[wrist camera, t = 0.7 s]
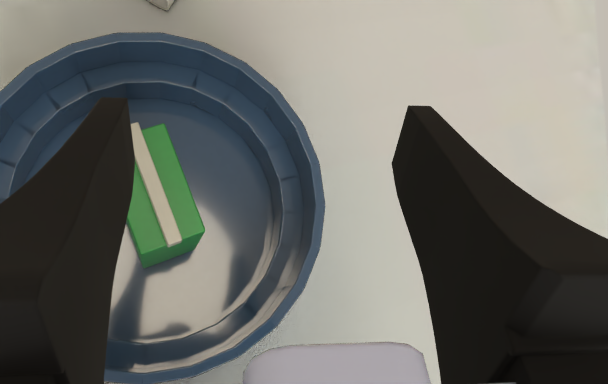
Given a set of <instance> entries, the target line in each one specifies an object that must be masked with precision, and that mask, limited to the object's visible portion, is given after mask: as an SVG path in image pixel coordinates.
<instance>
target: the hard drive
mask: <svg viewBox="0 0 608 384" xmlns="http://www.w3.org/2000/svg"><path fill="white" fill-rule="evenodd" d="M147 1H149V2H151V3H152V4H154V5H156V6H157V7H159V8H161V9H164V10H168V9H169V8H170V6H171V5H172V4H173V2H174V1H175V0H147Z"/></svg>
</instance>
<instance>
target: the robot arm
mask: <svg viewBox="0 0 608 384" xmlns="http://www.w3.org/2000/svg"><path fill="white" fill-rule="evenodd" d="M392 168H393V174H394V180H395V186H396V191H397V196H398V199H399V202H400V206H401V209H402V212H403V215H404V218H405V221H406V224H407V227H408V230H409V233H410V236H411V239H412V242H413V245H414V248H415V251H416V254H417V257H418V260H419V264H420V267H421V271H422V274H423V279H424V284H425V288H426V293H427V298H428V303H429V308H430V314H431V319H432V325H433V330H434V336H435V343H436V349H437V356H438V362H439V369H440V377H441V384H608V239H606V238H604V237H602V236H600V235H598V234H596V233H594V232H592V231H590V230H588V229H586V228H584V227H582V226H580V225H578V224H577V223H575V222H573V221H571V220H569V219H567V218H566V217H564V216H562V215H561V214H559V213H557V212H556V211H554V210H552V209H551V208H549V207H547V206H546V205H544V204H543V203H541V202H540V201H538V200H537V199H535V198H534V197H532V196H531V195H529V194H528V193H527V192H525V191H524V190H522V189H521V188H520V187H518V186H517V185H515V184H514V183H513V182H512V181H510V180H509V179H508V178H507V177H505V176H504V175H503V174H502V173H501V172H499V171H498V170H497V169H496V168H495V167H493V166H492V165H491V164H490V163H489V162H488V161H487V160H485V159H484V158H483V157H482V156H481V155H480V154H479V153H478V152H477V151H476V150H475V149H474V148H473V147H471V146H470V145H469V144H468V143H467V142H466V141H465V140H464V139H463V138H462V137H461V136H460V135H459V134H458V133H457V132H456V131H455V130H454V129H453V128H452V127H451V126H450V125H449V124H448V123H447V122H446V121H445V120H444V119H443V118H442V117H441V116H440V115H439V114H438V113H437V112H436V111H435V110H434V109H433V108H432V107H431V106H408V108H407V112H406V115H405V119H404V122H403V126H402V130H401V133H400V137H399V140H398V144H397V147H396V151H395V154H394V158H393V161H392ZM134 170H135V154H134V146H133V139H132V131H131V123H130V115H129V107H128V100H127V98H111V97H101V98H100V99H99V100H98V101H97V102H96V104H95V105H94V107H93V108H92V109H91V111H90V112H89V113H88V115H87V116H86V117H85V119H84V120H83V121H82V123H81V124H80V125H79V126H78V128H77V129H76V130H75V132H74V133H73V134H72V135H71V136H70V137H69V139H68V140H67V141H66V142H65V143H64V144H63V146H62V147H61V148H60V149H59V150H58V151H57V152H56V153H55V155H54V156H53V157H52V158H51V159H50V160H49V161H48V162H47V163H46V164H45V165H44V166H43V167H42V168H41V169H40V170H39V171H38V172H37V173H36V174H35V175H34V176H33V177H32V178H31V179H30V180H28V181H27V182H26V183H25V184H24V185H23V186H22V187H20V188H19V189H18V190H17V191H16V192H15V193H13V194H12V195H11V196H10V197H8V198H7V199H6V200H4V201H3V202H2V203H0V384H104V373H105V361H106V349H107V338H108V328H109V318H110V308H111V299H112V290H113V281H114V275H115V270H116V264H117V260H118V256H119V251H120V247H121V242H122V238H123V234H124V229H125V225H126V221H127V216H128V212H129V207H130V203H131V198H132V192H133V182H134ZM243 384H431V382H430V379H429V375H428V371H427V368H426V364H425V360H424V357H423V354H422V353H421V352H419V351H418V350H416V349H415V348H413V347H412V346H410V345H408V344H403V343H394V342H369V343H340V344H311V345H289V346H284V347H278V348H272V349H269V350H267V351H265V352H263V353H261V354H259V355H257V356H255V357H254V358H253V359H251V360H250V362H249V364H248V365H247V367H246V369H245V370H244V373H243Z"/></svg>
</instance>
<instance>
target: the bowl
mask: <svg viewBox="0 0 608 384" xmlns="http://www.w3.org/2000/svg"><path fill="white" fill-rule="evenodd" d="M101 97H111V98H127V100H128V107H129V115H130V123H131V124H133V123H136V122H138V123H139V126H140V129H141V130H142V129H146V128H149V127H152V126H156V125H159V124H162V123H164V124H165V125H166V128H167V131H168V133H169V136H170V138H171V141H172V144H173V146H174V149H175V151H176V154H177V157H178V159H179V162H180V164H181V167H182V170H183V172H184V175H185V178H186V180H187V183H188V185H189V188H190V191H191V193H192V196H193V198H194V201H195V204H196V206H197V209H198V211H199V214H200V217H201V219H202V222H203V225H204V227H205V232H204V234H203V236H202V238H201V239H200V241H199V243H198V245H197V246H196V248H195V249H194V250H192V251H190V252H187V253H184V254H182V255H179V256H176V257H174V258H171V259H169V260H166V261H163V262H161V263H158V264H155V265H153V266H150V267H147V268H143V267H142V264H141V261H140V259H139V256H138V253H137V251H136V248H135V245H134V242H133V240H132V237H131V234H130V232H129V229H128V226H127V223H126V225H125V229H124V234H123V238H122V242H121V247H120V251H119V256H118V260H117V264H116V270H115V275H114V281H113V290H112V299H111V308H110V318H109V328H108V338H107V349H106V361H105V373H104V382H113V383H123V384H156V383H162V382H168V381H174V380H180V379H187V378H192V377H196V376H198V375H200V374H202V373H205V372H207V371H209V370H211V369H214V368H216V367H218V366H220V365H222V364H225V363H227V362H229V361H231V360H234V359H236V358H238V357H239V356H241V355H242V354H244V353H245V352H246V351H247V350H248V349H250V348H251V347H252V346H253V345H255V344H256V343H257V342H258V341H260V340H261V339H262V338H263V337H265V336H266V335H267V334H268V333H270V332H271V331H272V330H273V329H275V328H276V326H278V324H279V323H280V322H281V320H282V319H283V318H284V316H285V315H286V313H287V312H288V311H289V309H290V308H291V307H292V305H293V304H294V303H295V301H296V300H297V299H298V297H299V296H300V294H301V293H302V292H303V289H304V288H305V286H306V283H307V281H308V278H309V276H310V273H311V271H312V268H313V266H314V263H315V261H316V258H317V255H318V253H319V250H320V247H321V238H322V230H323V222H324V213H325V199H324V192H323V184H322V177H321V170H320V164H319V161H318V158H317V156H316V153H315V151H314V148H313V146H312V144H311V141H310V139H309V136H308V134H307V131H306V129H305V127H304V125H303V123H302V121H301V120H300V119H299V117H298V116H297V115H296V113H295V112H294V111H293V109H292V108H291V107H290V105H289V104H288V102H287V101H286V100H285V98H284V97H283V96H282V94H281V93H280V92H279V91H278V89H277V88H276V87H274V86H273V85H272V84H271V83H270V82H268V81H267V80H266V79H265V78H264V77H262V76H261V75H260V74H259V73H258V72H256V71H255V70H254V69H253V68H252V67H250V66H249V65H248V64H247V63H245V62H244V61H242V60H240V59H237V58H235V57H233V56H231V55H229V54H227V53H225V52H223V51H221V50H219V49H217V48H215V47H213V46H211V45H209V44H207V43H206V44H205V43H204V42H200V41H196V40H192V39H187V38H183V37H179V36H174V35H170V34H166V33H113V34H109V35H105V36H101V37H97V38H93V39H89V40H85V41H81V42H76V43H72V44H71V45H68V46H66V47H64V48H62V49H60V50H58V51H56V52H54V53H52V54H50V55H49V56H47V57H45V58H43V59H41V60H39V61H37V62H35V63H33V64H31V65H30V66H29V67H27V68H25V69H24V70H23V71H22V72H21V73H20V74H19V75H18V76H17V77H16V78H15V79H13V80H12V81H11V82H10V83H9V84H8V85H7V86H6V87H5V88H4V89H3V90H1V91H0V203H2V202H3V201H4V200H6V199H7V198H8V197H10V196H11V195H12V194H13V193H15V192H16V191H17V190H18V189H19V188H20V187H22V186H23V185H24V184H25V183H26V182H27V181H28V180H30V179H31V178H32V177H33V176H34V175H35V174H36V173H37V172H38V171H39V170H40V169H41V168H42V167H43V166H44V165H45V164H46V163H47V162H48V161H49V160H50V159H51V158H52V157H53V156H54V155H55V153H56V152H57V151H58V150H59V149H60V148H61V147H62V146H63V144H64V143H65V142H66V141H67V140H68V139H69V137H70V136H71V135H72V134H73V133H74V132H75V130H76V129H77V128H78V126H79V125H80V124H81V123H82V121H83V120H84V119H85V117H86V116H87V115H88V113H89V112H90V111H91V109H92V108H93V107H94V105H95V104H96V102H97V101H98V100H99V99H100V98H101Z"/></svg>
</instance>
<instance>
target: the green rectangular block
mask: <svg viewBox="0 0 608 384" xmlns="http://www.w3.org/2000/svg"><path fill="white" fill-rule="evenodd" d="M131 131H132V139H133V146H134V154H135V170H134V182H133V192H132V198H131V203H130V207H129V212H128V216H127V221H126V223H127V226H128V229H129V232H130V234H131V237H132V240H133V242H134V245H135V248H136V251H137V253H138V256H139V259H140V261H141V264H142V267H143V268H147V267H150V266H153V265H155V264H158V263H161V262H163V261H166V260H169V259H171V258H174V257H176V256H179V255H182V254H184V253H187V252H190V251H192V250H194V249H195V248H196V246H197V245H198V243H199V241H200V239H201V238H202V236H203V234H204V232H205V227H204V225H203V222H202V219H201V217H200V214H199V211H198V209H197V206H196V204H195V201H194V198H193V196H192V193H191V191H190V188H189V185H188V183H187V180H186V178H185V175H184V172H183V170H182V167H181V164H180V162H179V159H178V157H177V154H176V151H175V149H174V146H173V144H172V141H171V138H170V136H169V133H168V131H167V128H166V125H165V124H164V123H162V124H159V125H156V126H152V127H149V128H146V129H142V130H141V129H140V126H139V123H138V122H136V123H133V124H131Z"/></svg>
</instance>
